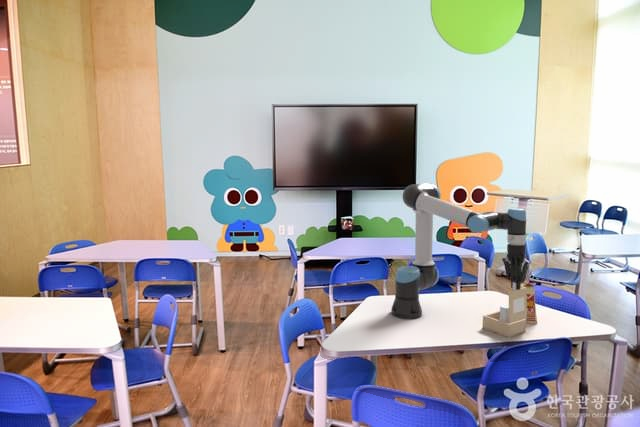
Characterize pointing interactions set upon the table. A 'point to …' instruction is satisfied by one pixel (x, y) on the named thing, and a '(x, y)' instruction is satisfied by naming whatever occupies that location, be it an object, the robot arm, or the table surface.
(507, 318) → the box
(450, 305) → the table surface
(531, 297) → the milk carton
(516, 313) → the lid
